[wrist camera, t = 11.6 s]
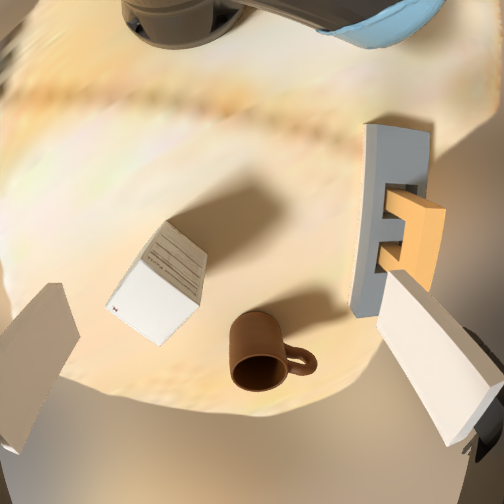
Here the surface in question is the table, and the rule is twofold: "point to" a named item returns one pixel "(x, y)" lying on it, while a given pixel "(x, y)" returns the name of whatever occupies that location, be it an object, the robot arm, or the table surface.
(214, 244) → the table surface
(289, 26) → the table surface
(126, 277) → the supplement box
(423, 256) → the tall wooden block
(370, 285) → the rail
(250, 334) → the mug
